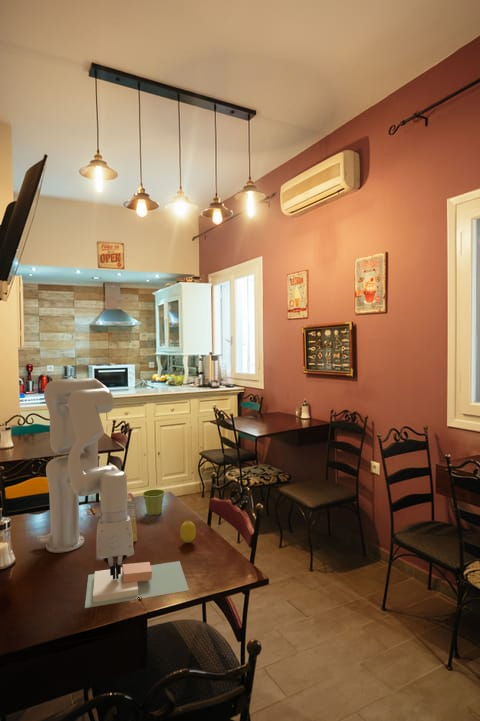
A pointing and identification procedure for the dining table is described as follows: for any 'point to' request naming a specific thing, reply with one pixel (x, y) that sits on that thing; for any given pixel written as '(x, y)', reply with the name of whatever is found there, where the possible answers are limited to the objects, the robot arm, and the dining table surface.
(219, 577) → the dining table surface
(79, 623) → the dining table surface
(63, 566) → the dining table surface
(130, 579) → the terracotta tile
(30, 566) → the dining table surface
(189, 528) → the lemon
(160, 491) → the plant pot
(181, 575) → the rubber mat
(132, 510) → the candy box
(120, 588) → the block
